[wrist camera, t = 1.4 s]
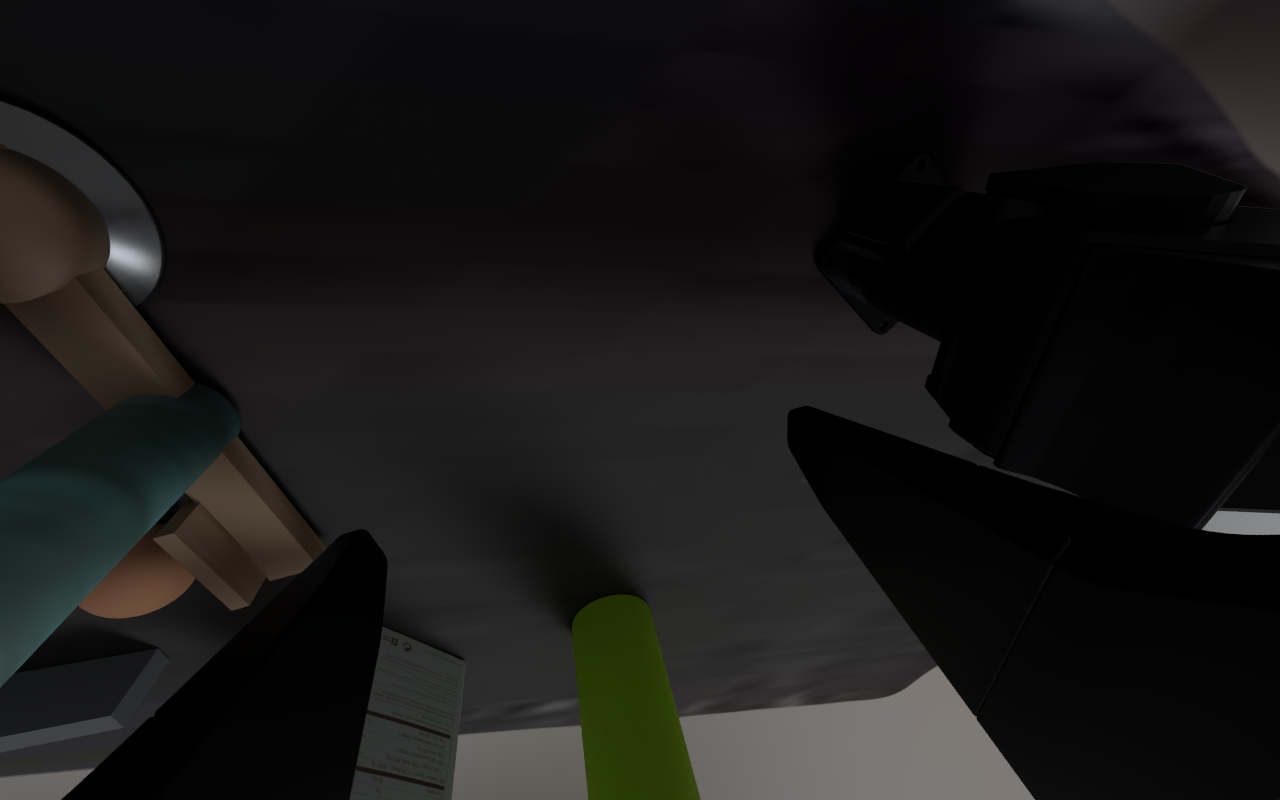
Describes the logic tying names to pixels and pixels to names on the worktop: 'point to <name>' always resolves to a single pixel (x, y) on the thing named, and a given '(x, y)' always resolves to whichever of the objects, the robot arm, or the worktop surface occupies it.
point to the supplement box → (410, 723)
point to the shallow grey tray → (75, 698)
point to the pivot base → (96, 196)
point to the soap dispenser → (627, 706)
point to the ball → (139, 582)
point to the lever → (118, 436)
